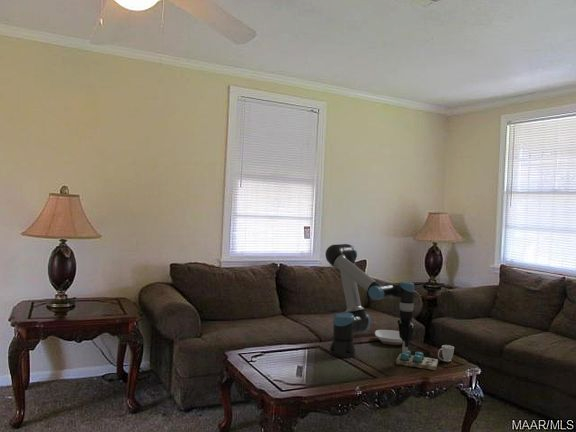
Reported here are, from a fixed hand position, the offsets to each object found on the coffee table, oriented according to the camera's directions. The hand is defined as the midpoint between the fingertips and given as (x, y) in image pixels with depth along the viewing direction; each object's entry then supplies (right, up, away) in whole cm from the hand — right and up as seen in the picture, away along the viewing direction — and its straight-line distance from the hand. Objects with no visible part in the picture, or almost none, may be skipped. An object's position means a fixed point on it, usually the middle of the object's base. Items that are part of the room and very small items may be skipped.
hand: (405, 352), depth 262 cm
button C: (+6, -4, -3) cm, 8 cm away
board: (+7, -6, +1) cm, 9 cm away
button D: (+9, -4, +4) cm, 10 cm away
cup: (+25, -7, +7) cm, 27 cm away
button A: (0, -4, 0) cm, 4 cm away
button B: (+2, -4, +6) cm, 8 cm away
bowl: (+2, -6, +43) cm, 43 cm away
